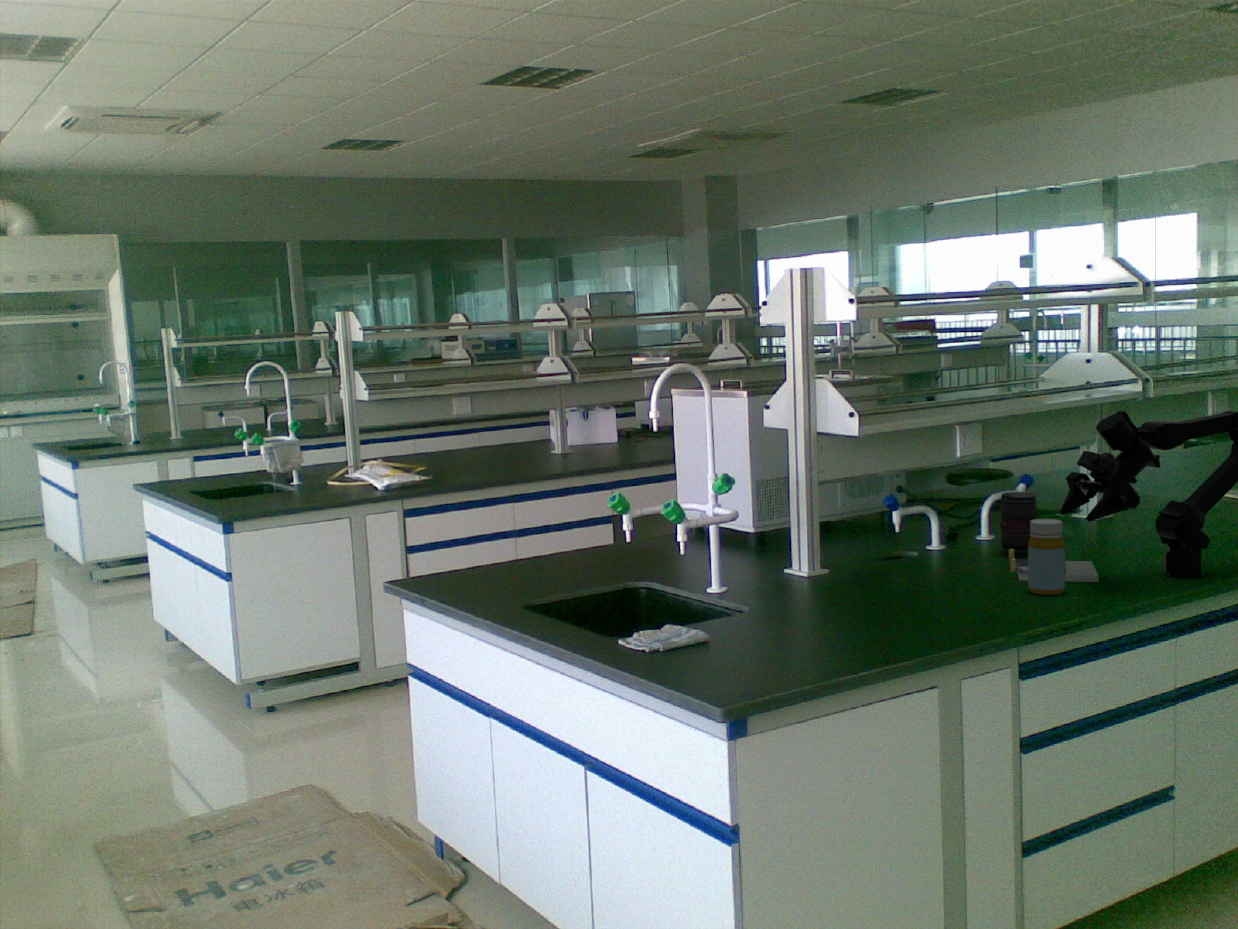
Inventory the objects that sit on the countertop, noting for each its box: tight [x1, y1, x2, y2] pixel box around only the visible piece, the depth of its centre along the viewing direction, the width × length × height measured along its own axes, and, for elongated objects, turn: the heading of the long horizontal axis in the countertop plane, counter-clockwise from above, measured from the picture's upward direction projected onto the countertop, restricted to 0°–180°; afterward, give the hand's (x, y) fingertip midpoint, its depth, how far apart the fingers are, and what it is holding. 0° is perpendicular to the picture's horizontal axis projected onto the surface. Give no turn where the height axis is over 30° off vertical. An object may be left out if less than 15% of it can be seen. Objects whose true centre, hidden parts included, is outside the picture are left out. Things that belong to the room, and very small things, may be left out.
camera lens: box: [999, 491, 1037, 559], centre depth 261 cm, size 8×8×15 cm
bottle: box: [1027, 518, 1066, 597], centre depth 225 cm, size 7×7×15 cm
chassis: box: [1008, 549, 1099, 583], centre depth 241 cm, size 18×14×4 cm
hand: (1074, 516), depth 228 cm, fingers open, 9 cm apart
